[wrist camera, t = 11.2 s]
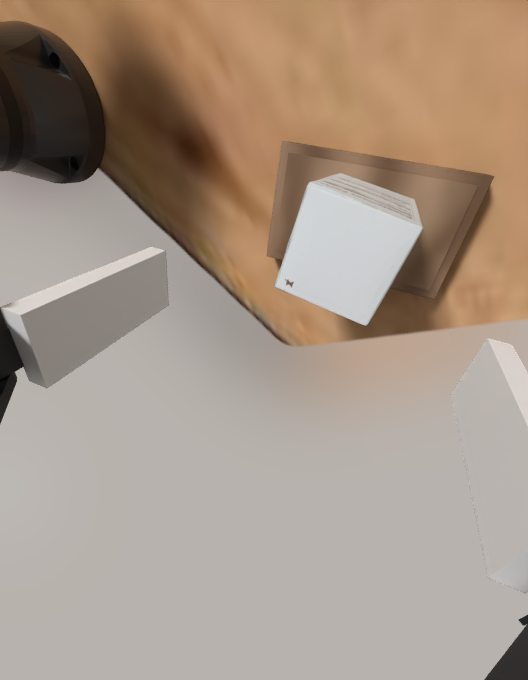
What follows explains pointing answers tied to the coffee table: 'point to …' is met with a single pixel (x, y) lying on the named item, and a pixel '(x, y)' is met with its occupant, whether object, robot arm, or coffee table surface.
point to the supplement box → (348, 245)
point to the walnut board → (397, 176)
